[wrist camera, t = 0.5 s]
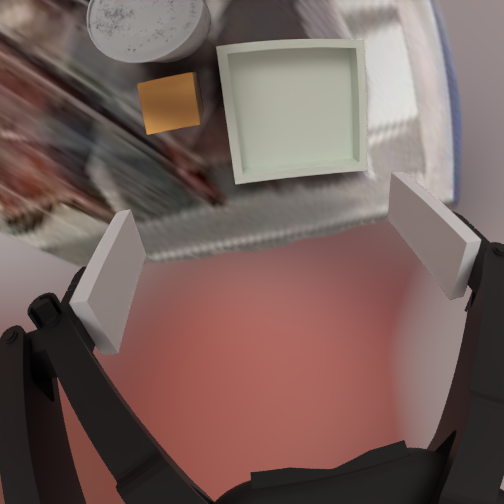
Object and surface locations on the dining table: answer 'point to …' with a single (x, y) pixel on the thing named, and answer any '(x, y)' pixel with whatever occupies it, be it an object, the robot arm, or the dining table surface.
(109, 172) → the dining table surface
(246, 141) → the tray
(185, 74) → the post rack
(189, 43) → the grey cylinder
